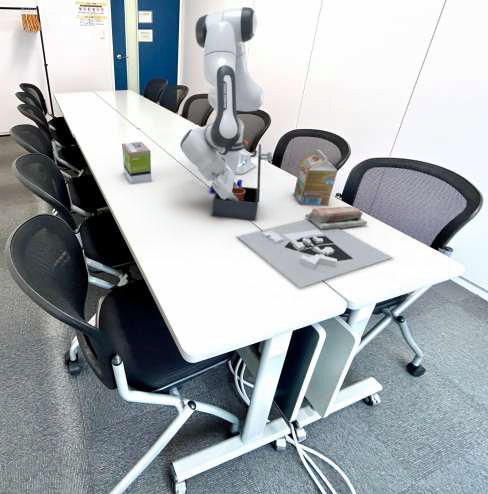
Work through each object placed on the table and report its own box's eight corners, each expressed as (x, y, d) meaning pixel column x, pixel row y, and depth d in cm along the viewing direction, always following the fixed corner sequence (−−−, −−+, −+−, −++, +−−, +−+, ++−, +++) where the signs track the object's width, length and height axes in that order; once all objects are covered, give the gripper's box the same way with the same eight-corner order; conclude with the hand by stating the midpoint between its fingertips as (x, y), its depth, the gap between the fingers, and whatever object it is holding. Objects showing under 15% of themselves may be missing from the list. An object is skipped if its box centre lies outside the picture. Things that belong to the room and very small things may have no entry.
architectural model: (317, 218, 123) (319, 212, 122) (390, 258, 100) (393, 252, 99) (237, 237, 111) (238, 232, 110) (300, 288, 89) (301, 281, 88)
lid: (258, 156, 109) (273, 155, 108) (258, 144, 121) (272, 143, 120) (256, 202, 118) (270, 202, 116) (257, 187, 129) (269, 186, 128)
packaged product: (325, 217, 111) (307, 205, 120) (321, 230, 114) (304, 217, 122) (371, 213, 115) (351, 201, 123) (366, 226, 117) (347, 213, 126)
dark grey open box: (212, 216, 125) (213, 199, 121) (216, 200, 137) (217, 184, 133) (255, 220, 121) (257, 203, 118) (255, 204, 133) (258, 188, 130)
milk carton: (293, 193, 142) (303, 148, 132) (319, 194, 141) (331, 149, 131) (300, 204, 133) (311, 157, 123) (327, 205, 132) (341, 157, 122)
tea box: (123, 173, 164) (121, 142, 156) (143, 171, 167) (142, 141, 159) (130, 184, 152) (128, 151, 144) (151, 181, 155) (151, 149, 147)
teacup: (233, 203, 132) (235, 186, 128) (246, 208, 128) (248, 190, 124) (223, 207, 129) (225, 190, 125) (236, 213, 125) (238, 195, 121)
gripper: (217, 173, 113) (243, 203, 116) (223, 155, 129) (246, 181, 132) (203, 184, 116) (229, 213, 119) (211, 166, 133) (233, 191, 136)
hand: (238, 196), depth 126 cm, fingers open, 8 cm apart
